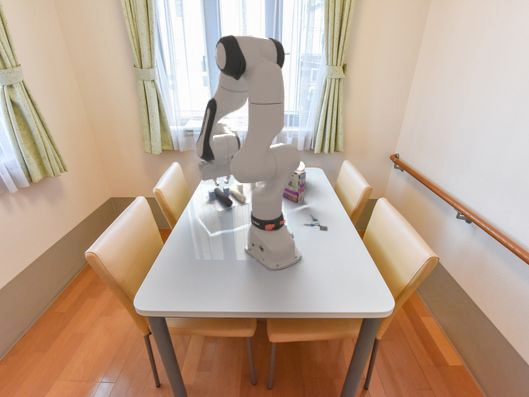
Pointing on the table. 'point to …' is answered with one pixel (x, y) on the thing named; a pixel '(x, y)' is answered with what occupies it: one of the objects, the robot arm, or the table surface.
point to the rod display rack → (231, 196)
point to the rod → (237, 194)
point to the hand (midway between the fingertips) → (222, 184)
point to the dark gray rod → (223, 197)
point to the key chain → (318, 225)
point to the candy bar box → (295, 186)
